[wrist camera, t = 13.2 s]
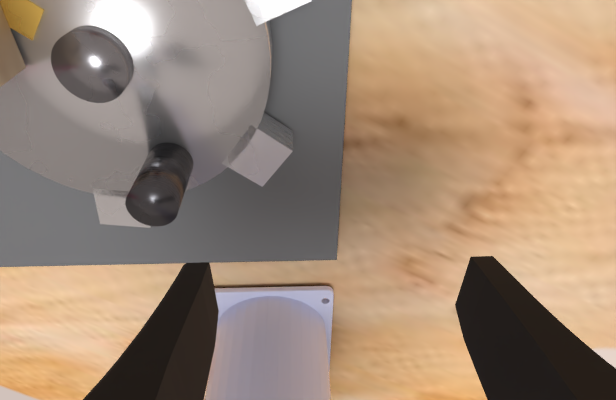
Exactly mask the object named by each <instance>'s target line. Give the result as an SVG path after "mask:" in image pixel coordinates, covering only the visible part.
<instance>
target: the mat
mask: <svg viewBox="0 0 616 400" xmlns="http://www.w3.org/2000/svg"><path fill="white" fill-rule="evenodd" d="M351 5H352V0H312V1H311V2H308V3H306V4H304V5H302V6H300V7H297V8H295V9H293V10H291V11H289V12H286V13H284V14H282V15H280V16H278V17H275V18H273V19H271V20H269V22H270V29H271V38H272V69H271V78H270V86H269V92H268V99H267V103H266V107H265V110H264V113H266V114H267V115H269V116H270V117H272V118H273V119H275V120H276V121H278V122H279V123H281V124H282V125H284V126H285V127H287V128H288V129H290V130H292V131H293V152H292V153H291V154H290V155H289V156H288V157H287V159H286V160H285V161H284V162H283V163H282V164H281V166H280V167H279V168H278V169H277V170H276V172H275V173H274V174H273V175H272V176H271V177H270V179H269V180H268V181H267V182H266V183H265V185H264V186H263V187H262V186H260V185H258V184H257V183H255V182H253V181H251V180H250V179H248V178H246V177H244V176H243V175H241V174H239V173H237V172H236V171H234V170H232V169H231V168H229V167H227V168H226V169H225V170H224V171H222V172H221V173H220V174H218V175H217V176H215V177H214V178H212V179H210V180H209V181H207V182H205V183H203V184H201V185H199V186H197V187H194V188H192V189H189V190H186V191H185V193H184V196H183V199H182V202H181V205H180V208H179V211H178V214H177V217H176V218H175V220H174V221H173V222H171V223H170V224H167V225H165V226H158V227H157V226H151V227H150V228H145V227H132V226H119V225H106V224H100V221H99V216H98V212H97V207H96V202H95V197H94V194H93V193H89V192H84V191H81V190H77V189H74V188H71V187H68V186H65V185H62V184H60V183H57V182H55V181H53V180H50V179H48V178H46V177H43V176H41V175H40V174H38V173H36V172H34V171H32V170H30V169H28V168H26V167H24V166H23V165H21V164H20V163H18V162H16V161H15V160H13V159H12V158H10V157H9V156H7V155H6V154H4V153H3V152H1V151H0V267H21V266H68V265H115V264H162V263H200V262H209V263H210V262H257V261H304V260H337V245H338V228H339V210H340V193H341V176H342V159H343V142H344V125H345V107H346V90H347V73H348V56H349V39H350V22H351Z"/></svg>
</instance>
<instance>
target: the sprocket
mask: <svg viewBox="0 0 616 400" xmlns="http://www.w3.org/2000/svg"><path fill="white" fill-rule="evenodd" d="M311 1H312V0H0V5H1V8H2V10H3V13H4V15H5V17H6V20H7V22H8V25H9V27H10V29H11V32H12V34H13V37H14V39H15V41H16V44H17V46H18V49H19V51H20V54H21V56H22V58H23V61H24V63H25V66H26V68H25V69H24V70H22V71H21V72H20V73H18V74H17V75H16V76H14V77H13V78H12V79H10V80H9V81H8V82H6V83H5V84H4V85H2V86H1V87H0V151H1V152H3V153H4V154H6V155H7V156H9V157H10V158H12V159H13V160H15V161H16V162H18V163H20V164H21V165H23V166H24V167H26V168H28V169H30V170H32V171H34V172H36V173H38V174H40V175H41V176H43V177H46V178H48V179H50V180H53V181H55V182H57V183H60V184H62V185H65V186H68V187H71V188H74V189H77V190H81V191H84V192H89V193H93V194H94V197H95V202H96V207H97V212H98V216H99V221H100V224H106V225H119V226H132V227H145V228H150V227H151V226H157V227H158V226H165V225H167V224H170V223H171V222H173V221H174V220H175V218H176V217H177V214H178V211H179V208H180V205H181V202H182V199H183V196H184V193H185V191H186V190H189V189H192V188H194V187H197V186H199V185H201V184H203V183H205V182H207V181H209V180H210V179H212V178H214V177H215V176H217V175H218V174H220V173H221V172H222V171H224V170H225V169H226V168H227V167H229V168H231V169H232V170H234V171H236V172H237V173H239V174H241V175H243V176H244V177H246V178H248V179H250V180H251V181H253V182H255V183H257V184H258V185H260V186H262V187H263V186H264V185H265V183H266V182H267V181H268V180H269V179H270V177H271V176H272V175H273V174H274V173H275V172H276V170H277V169H278V168H279V167H280V166H281V164H282V163H283V162H284V161H285V160H286V159H287V157H288V156H289V155H290V154H291V153H292V152H293V131H292V130H290V129H288V128H287V127H285V126H284V125H282V124H281V123H279V122H278V121H276V120H275V119H273V118H272V117H270V116H269V115H267V114H266V113H264V110H265V107H266V103H267V99H268V92H269V86H270V78H271V69H272V38H271V29H270V22H269V20H271V19H273V18H275V17H278V16H280V15H282V14H284V13H286V12H289V11H291V10H293V9H295V8H297V7H300V6H302V5H304V4H306V3H308V2H311Z"/></svg>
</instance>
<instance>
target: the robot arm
mask: <svg viewBox="0 0 616 400" xmlns="http://www.w3.org/2000/svg"><path fill="white" fill-rule="evenodd" d="M324 298H327V299H324ZM333 298H334V293H333V289H332V288H331V287H329V286H297V287H253V288H214V284H213V279H212V274H211V269H210V264H209V262H200V263H186V264H185V265H184V266H183V267H182V269H181V271H180V272H179V274H178V276H177V277H176V279H175V281H174V282H173V284H172V285H171V287H170V289H169V290H168V292H167V293H166V295H165V296H164V298H163V299H162V301H161V302H160V304H159V305H158V307H157V308H156V310H155V311H154V312H153V314H152V315H151V317H150V318H149V320H148V321H147V322H146V324H145V325H144V327H143V328H142V329H141V331H140V332H139V333H138V335H137V336H136V337H135V339H134V340H133V341H132V342H131V344H130V345H129V346H128V348H127V349H126V350H125V351H124V353H123V354H122V355H121V357H120V358H119V359H118V360H117V361H116V363H115V364H114V365H113V366H112V367H111V369H110V370H109V371H108V372H107V373H106V375H105V376H104V377H103V378H102V379H101V380H100V381H99V383H98V384H97V385H96V386H95V387H94V388H93V389H92V390H91V391H90V392H89V394H88V395H87V396H86V397H85V398H84V399H83V400H203V399H204V395H205V390H206V385H207V390H206V396H205V400H331V392H330V379H329V369H330V351H331V333H332V316H333ZM455 306H456V310H457V314H458V318H459V322H460V326H461V330H462V334H463V337H464V341H465V343H466V346H467V349H468V351H469V354H470V356H471V359H472V361H473V364H474V367H475V369H476V372H477V374H478V377H479V379H480V382H481V384H482V387H483V389H484V392H485V394H486V397H487V399H488V400H616V369H615V368H614V367H613V366H612V365H610V364H609V363H607V362H606V361H605V360H604V359H603V358H601V357H600V356H599V355H598V354H597V353H595V352H594V351H593V350H592V349H591V348H589V347H588V346H587V345H586V344H585V343H584V342H582V341H581V340H580V339H579V338H578V337H577V336H575V335H574V334H573V333H572V332H571V331H570V330H569V329H568V328H566V327H565V326H564V325H563V324H562V323H561V322H560V321H559V320H558V319H557V318H555V317H554V316H553V315H552V314H551V313H550V312H549V311H548V310H547V309H546V308H545V307H544V306H543V305H542V304H541V303H540V302H539V301H537V300H536V299H535V298H534V297H533V296H532V295H531V294H530V293H529V292H528V291H527V290H526V289H525V288H524V287H523V286H522V285H521V284H520V283H519V282H518V281H517V280H516V279H515V278H514V277H513V276H512V275H511V274H510V273H509V272H508V271H507V270H506V269H505V268H504V267H503V266H502V265H501V264H500V263H499V262H498V261H497V260H496V259H495V258H494V257H493V256H484V257H471V258H470V261H469V264H468V267H467V270H466V273H465V276H464V280H463V283H462V286H461V289H460V292H459V295H458V298H457V301H456V304H455ZM208 376H209V378H208ZM207 381H208V384H207Z"/></svg>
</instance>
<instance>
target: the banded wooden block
mask: <svg viewBox="0 0 616 400" xmlns="http://www.w3.org/2000/svg"><path fill="white" fill-rule="evenodd" d="M25 68H26V66H25V63H24V61H23V58H22V56H21V54H20V51H19V49H18V46H17V44H16V41H15V39H14V37H13V34H12V32H11V29H10V27H9V25H8V22H7V20H6V17H5V15H4V13H3V10H2V8H1V5H0V87H1V86H2V85H4V84H5V83H6V82H8V81H9V80H10V79H12V78H13V77H14V76H16V75H17V74H18V73H20V72H21V71H22V70H24V69H25Z"/></svg>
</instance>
